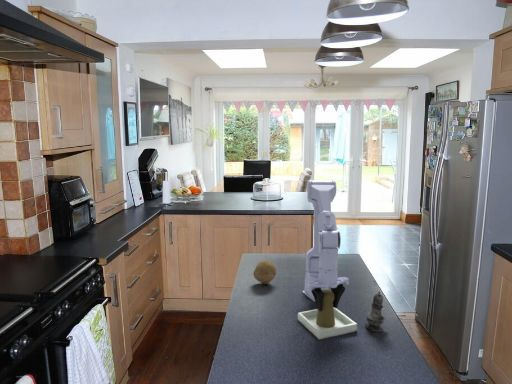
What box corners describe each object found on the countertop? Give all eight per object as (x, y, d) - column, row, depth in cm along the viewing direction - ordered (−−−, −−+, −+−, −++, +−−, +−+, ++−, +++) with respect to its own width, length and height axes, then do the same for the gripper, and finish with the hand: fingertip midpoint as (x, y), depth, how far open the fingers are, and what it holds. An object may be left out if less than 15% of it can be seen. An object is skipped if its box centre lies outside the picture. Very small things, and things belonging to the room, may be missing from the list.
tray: (297, 319, 132) (297, 312, 132) (332, 312, 138) (333, 305, 137) (319, 339, 120) (319, 332, 120) (356, 331, 125) (357, 323, 125)
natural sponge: (278, 287, 158) (279, 263, 157) (257, 289, 156) (257, 265, 155) (273, 279, 167) (273, 256, 165) (252, 281, 165) (252, 257, 163)
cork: (312, 321, 130) (313, 289, 128) (326, 317, 133) (327, 285, 131) (324, 329, 125) (325, 296, 123) (339, 324, 128) (340, 292, 126)
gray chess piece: (361, 322, 129) (366, 287, 127) (377, 322, 130) (383, 287, 128) (369, 331, 124) (374, 295, 122) (386, 331, 125) (392, 295, 123)
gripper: (314, 275, 119) (313, 317, 121) (355, 268, 125) (353, 309, 127) (303, 267, 126) (302, 308, 128) (342, 261, 131) (340, 300, 133)
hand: (326, 308), depth 128 cm, fingers closed on cork, 5 cm apart
